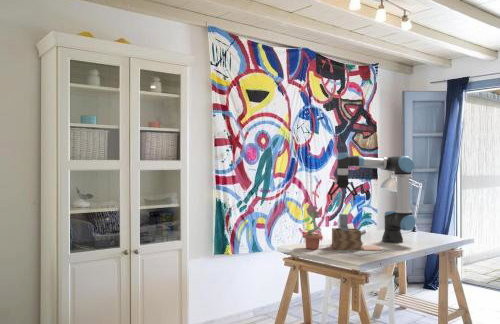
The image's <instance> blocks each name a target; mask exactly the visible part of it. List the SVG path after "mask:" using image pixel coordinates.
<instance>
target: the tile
mask: <svg viewBox="0 0 500 324" xmlns="http://www.w3.org/2000/svg"><path fill="white" fill-rule="evenodd" d="M361 248H362V251H367V252H369V251H370V252H382V251H383V249H382V248H381V247H380V246H378V245H361Z"/></svg>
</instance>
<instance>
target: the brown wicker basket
mask: <svg viewBox="0 0 500 324" xmlns="http://www.w3.org/2000/svg"><path fill="white" fill-rule="evenodd" d="M361 231H362V230H359V228H349V227H348V231H341V230H339V228H338V227H333V228H332V227H331V244H330V248H331V250H332V251H363V249H362V248H361V246H362V245H361V241H362V235H361Z"/></svg>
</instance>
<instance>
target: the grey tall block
mask: <svg viewBox="0 0 500 324" xmlns="http://www.w3.org/2000/svg"><path fill="white" fill-rule="evenodd" d="M348 220H349V219H348V214H347V213H339V214H338V227H337V228H339V230H341V231H348V228H349V225H348Z"/></svg>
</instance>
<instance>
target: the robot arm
mask: <svg viewBox="0 0 500 324" xmlns="http://www.w3.org/2000/svg"><path fill="white" fill-rule="evenodd" d="M336 160H337V165H336V168H337V171H336V172H337V173H336V174H337V175H336V177H337V180H336V181H332V185H331V187H330V188H329V190H328V192H327V195H329V196H330V201H331V205H332V206H333V205H334V201H335V200H334V198H335V197H334V194H335V193H336V192H337V191H338V190H339V188H340V189H347V190H348V191H349V193H350V194H351V206H354V201H355V200H356V196H358V192H357V190H356V187H355V186H354V181H350V182H349V167H355V168H366V169H367V168H369V169H380V170H381V171H387V172H388V171H389V172H392V173H394V176H395V177H396V194H397V197H396V198H397V199H396V200H397V210H393V211H391V210H390V211H385V212H384V217H383V218H384V231H383V235H382V238H381V241H382V242H384V243H390V244H392V243H393V244H394V243H395V244H400V243H404V238H403V236H402V232H401V231H407V232H409V231H411V230H413V229H414V228H415V226H416V225H417V219H416V217H415V215H413V211H412V210H411V195H410V192H411V190H410V177H411V175H412V172H413V171H414V169H415V162H414V160H413V159H412V158H411V157H410V156H407V155H400V156H398V155H397V156H388V157H387V156H386V157H385V156H383V157H379V158H378V157H364V156H363V155H349V153H348V152H338V153H337V159H336ZM335 185H337V186H336V187H335V188H334V186H335ZM349 186H351V188H350V187H349ZM333 189H334V190H333ZM351 189H352V190H353V191H352V190H351Z"/></svg>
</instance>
